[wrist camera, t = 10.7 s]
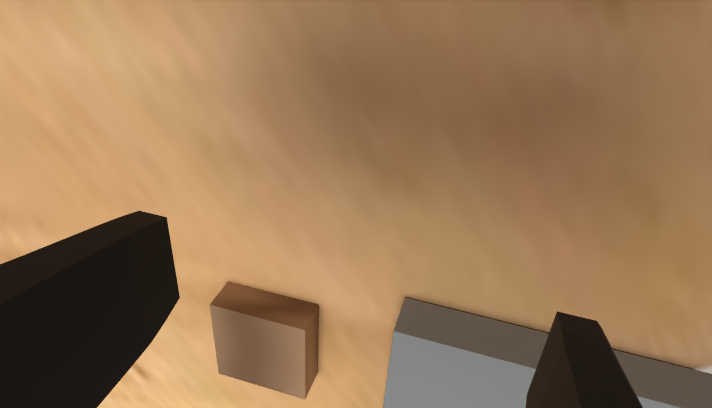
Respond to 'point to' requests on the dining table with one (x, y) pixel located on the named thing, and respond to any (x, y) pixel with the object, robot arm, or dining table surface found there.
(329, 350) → the dining table surface
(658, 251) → the dining table surface
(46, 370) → the robot arm
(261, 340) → the short block
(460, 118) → the dining table surface
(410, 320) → the board
